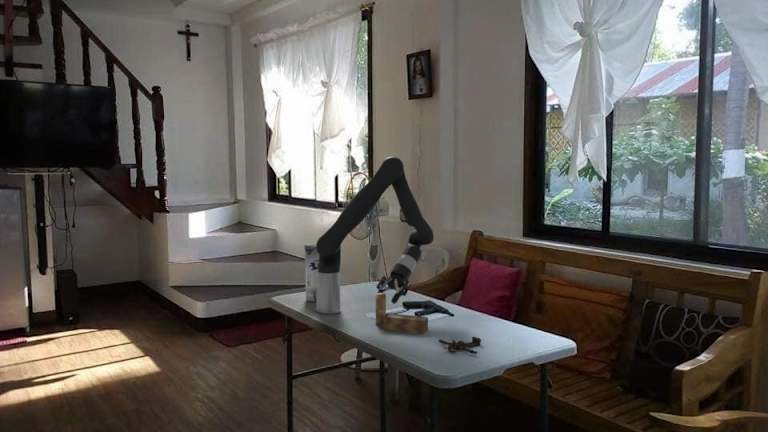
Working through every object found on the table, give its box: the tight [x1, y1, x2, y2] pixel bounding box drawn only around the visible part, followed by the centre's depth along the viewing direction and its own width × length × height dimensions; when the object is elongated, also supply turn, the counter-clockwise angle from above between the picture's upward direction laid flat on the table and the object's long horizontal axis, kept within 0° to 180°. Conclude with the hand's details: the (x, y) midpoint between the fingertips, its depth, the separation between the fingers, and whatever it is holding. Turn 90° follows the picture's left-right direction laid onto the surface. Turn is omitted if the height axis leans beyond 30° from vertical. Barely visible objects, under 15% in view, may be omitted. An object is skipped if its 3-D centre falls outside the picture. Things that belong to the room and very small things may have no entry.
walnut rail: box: [383, 312, 429, 335], centre depth 232 cm, size 16×5×5 cm, turn 67°
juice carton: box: [304, 243, 319, 303], centre depth 281 cm, size 9×10×27 cm
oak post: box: [375, 292, 387, 326], centre depth 240 cm, size 4×4×12 cm
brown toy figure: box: [437, 336, 482, 355], centre depth 210 cm, size 18×4×14 cm
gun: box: [402, 299, 455, 317], centre depth 261 cm, size 24×3×15 cm
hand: (384, 300), depth 242 cm, fingers open, 8 cm apart
